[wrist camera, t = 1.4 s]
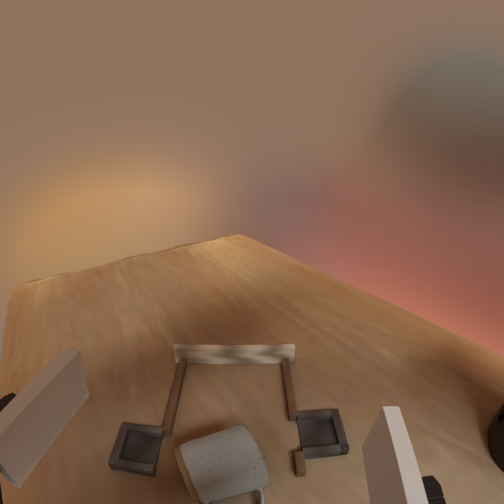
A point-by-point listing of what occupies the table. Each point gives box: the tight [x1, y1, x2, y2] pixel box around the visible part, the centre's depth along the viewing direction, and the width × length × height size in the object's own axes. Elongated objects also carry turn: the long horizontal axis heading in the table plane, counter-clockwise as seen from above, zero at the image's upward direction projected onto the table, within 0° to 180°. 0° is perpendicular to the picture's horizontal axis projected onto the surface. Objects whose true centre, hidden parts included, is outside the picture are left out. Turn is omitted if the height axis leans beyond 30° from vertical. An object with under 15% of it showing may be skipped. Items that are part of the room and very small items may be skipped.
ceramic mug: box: [174, 424, 270, 504], centre depth 26 cm, size 11×8×8 cm
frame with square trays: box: [108, 344, 349, 477], centre depth 38 cm, size 28×23×3 cm
